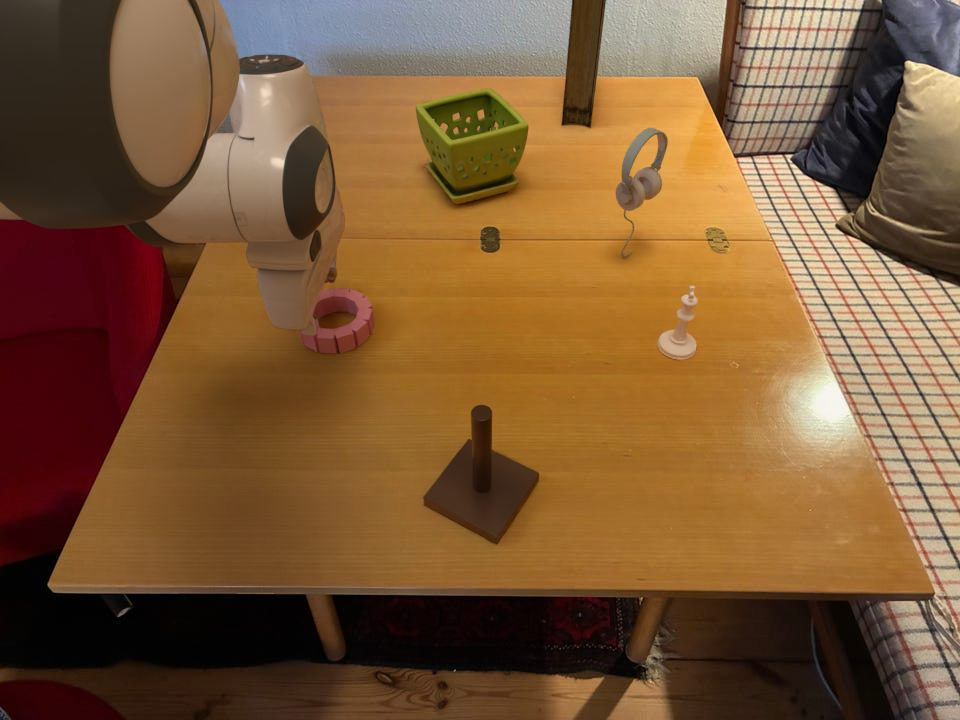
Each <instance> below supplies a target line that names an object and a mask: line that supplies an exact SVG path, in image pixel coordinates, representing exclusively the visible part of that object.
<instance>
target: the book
mask: <svg viewBox="0 0 960 720" xmlns="http://www.w3.org/2000/svg"><path fill="white" fill-rule="evenodd" d="M606 3H607V0H571V10H570V19H569V20H570V21H569V33H568V44H567V57H566V67H565V78H564V91H563V92H564V93H563V104H562V113H561V114H562V115H561V126H565V125H569V124H575V125H582V126H585V127H589V128H592V122H593V113H594V106H595V105H594V103H595V98H596V97H595V96H596V87H597V79H598V70H599V64H600V63H599V62H600V53H601V46H602V45H601V44H602V39H603V38H602V37H603V28H604V21H605V20H604V19H605V12H606Z"/></svg>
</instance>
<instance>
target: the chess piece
mask: <svg viewBox="0 0 960 720" xmlns="http://www.w3.org/2000/svg"><path fill="white" fill-rule="evenodd" d="M695 290H696V285H690V286H689V289H688V291H689V292H688V293H687V294H684V295H682V296H681V298H680V303H681V308H679V309H677V312H676V317H678V319H679V320H678V323H677V325H676V327H675V329H669V330H666V331H664V332H662V333H661V334H660V335H659V337H658V340H657V344H656V345H657V349H658V350H659V352H660V353H661V354H662V355H664V356H665V357H667V358H669V359H673V360H678V361H683V360H688V359H691V358H692V357H694V355H695V354H696V352H697V341H696V339H695V338H694V337H693V336H692V335H691V334H690V333H688V324H689V322H690V321H692V320H693V319H695V312H694V311H693V310H694V308H696V306H697V305H698V303H699V299H698V297H697V296H695Z"/></svg>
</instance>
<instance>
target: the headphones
mask: <svg viewBox="0 0 960 720" xmlns="http://www.w3.org/2000/svg"><path fill="white" fill-rule="evenodd" d="M654 136H657V137H656V138H657V151H656V155H655V158H654V161H653V162H652V163H651V164H650V166H646V167H643V168H641V169H640V170H637V171H636V173H635V174H634V176H633V177H632V175H630V174H631V171H632V168H633V166H634V163H635V161H636V159H637V157H638V155H639V153H640V151H641V150H642V148H643V147H644V146H645V145H646V143H647V142H648V141H649V140H650V139H651V138H653V137H654ZM668 142H669V141H668V136H667V134H666V133H664V132H663V131H661V130H659V129H657V128H655V127H648V128H646V129H643V130H642V131H641V132H640V133H638V135H636V137H635V138H634V139H633V140H632V141H631V143H630V144H629V146H628V148H627V150H626V152H625V154H624V156H623V160H622V164H621V181H620V182H618V184H617V186H616V188H615V199H616V202H617V204H618V206H620V208H621V209H623V210H624V211H623V217H624V219H625V220H626V221H628V222H629V223H631V225H632V231H631V233H630V236H629V238H628V239H627V240H626V242H625V244H624V246H623V248H622V250H621V257H622V258H623V259H624V258H625V259H626V258H627V257H629V256H630V255H631V253H633V250H632V249H631V250H630V251H629V252H628V253H627V254H626V255H624V251H625V248H626V247H627V245H628V243H629V242H630V241H631V238H632V237H633V234H634V231H635V224H634V222H633V221H632V220H631V219H630V218H628V217H627V215H626V212H632V211H635V210H636V209H638V208H640V207H641V206H642V205H643V204H644V201H647V200H648V201H650V200H652V199H654V198H655V197H656V196H658V195H659V194H660V192H661V190H662V188H663V178H662V176H661V174H660V172H659V171H660V170H661V169H662V163H663V160H664V158H665V156H666V152H667V149H668V144H669V143H668Z"/></svg>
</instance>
